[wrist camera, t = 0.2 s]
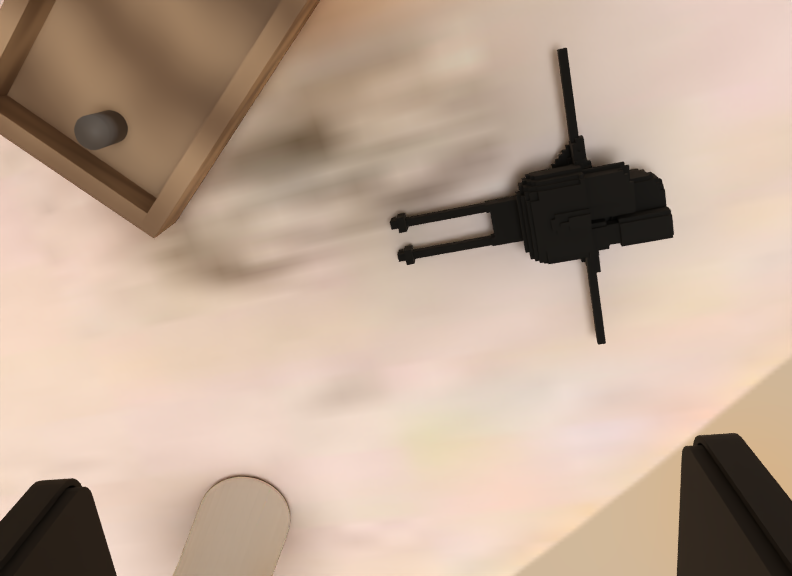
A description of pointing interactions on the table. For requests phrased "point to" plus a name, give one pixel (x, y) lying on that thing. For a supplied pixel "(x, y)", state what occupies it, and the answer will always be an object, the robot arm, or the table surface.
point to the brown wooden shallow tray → (137, 90)
